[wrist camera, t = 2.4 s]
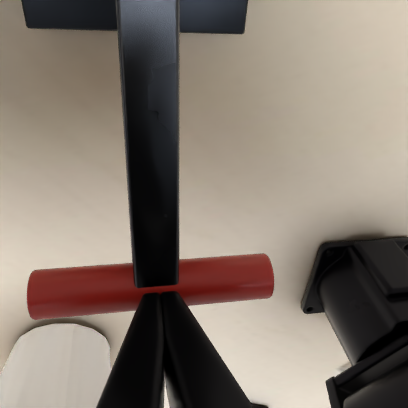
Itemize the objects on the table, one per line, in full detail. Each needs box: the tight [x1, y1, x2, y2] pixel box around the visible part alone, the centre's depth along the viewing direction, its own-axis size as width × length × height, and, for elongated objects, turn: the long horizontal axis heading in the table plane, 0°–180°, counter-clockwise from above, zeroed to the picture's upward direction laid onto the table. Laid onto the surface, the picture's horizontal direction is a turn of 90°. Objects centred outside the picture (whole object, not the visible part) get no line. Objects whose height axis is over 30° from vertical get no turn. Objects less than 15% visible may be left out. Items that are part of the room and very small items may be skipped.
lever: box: [27, 0, 274, 320], centre depth 7 cm, size 12×6×2 cm, turn 176°
